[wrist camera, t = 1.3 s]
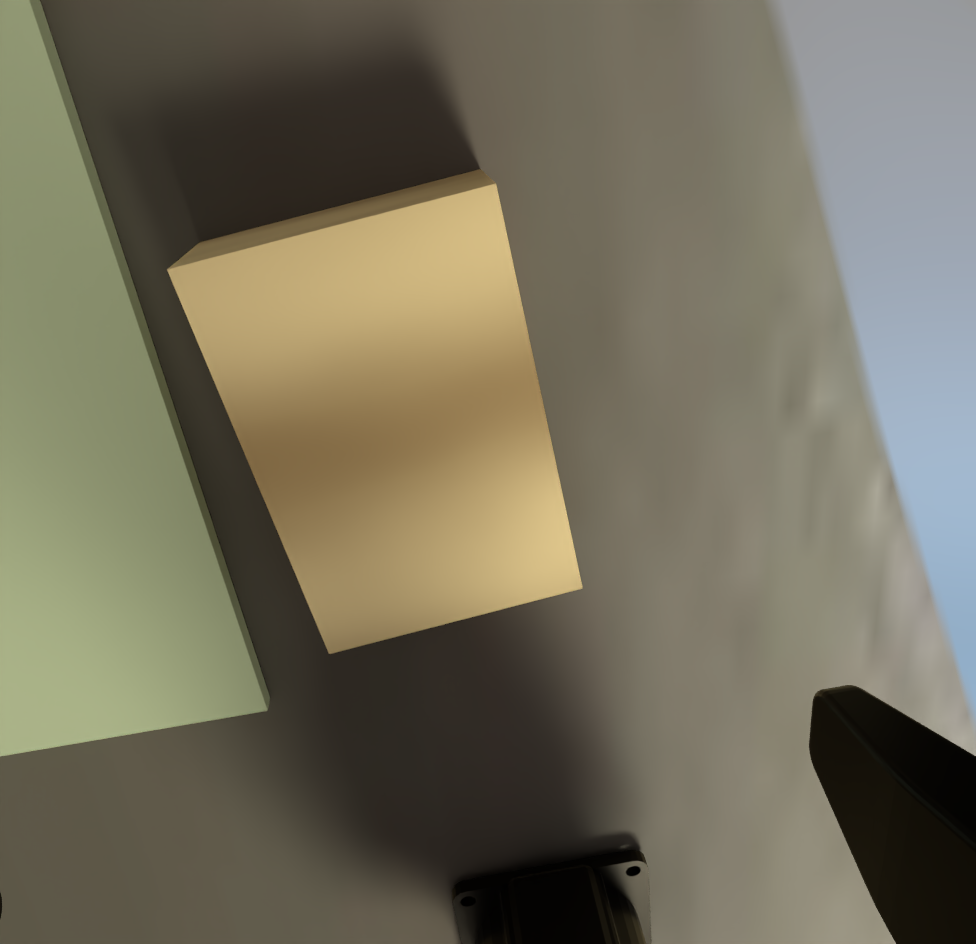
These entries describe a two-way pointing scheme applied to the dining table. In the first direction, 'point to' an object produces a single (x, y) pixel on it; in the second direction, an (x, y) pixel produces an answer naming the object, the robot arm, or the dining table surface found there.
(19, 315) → the rubber mat
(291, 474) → the brass block
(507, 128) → the dining table surface
